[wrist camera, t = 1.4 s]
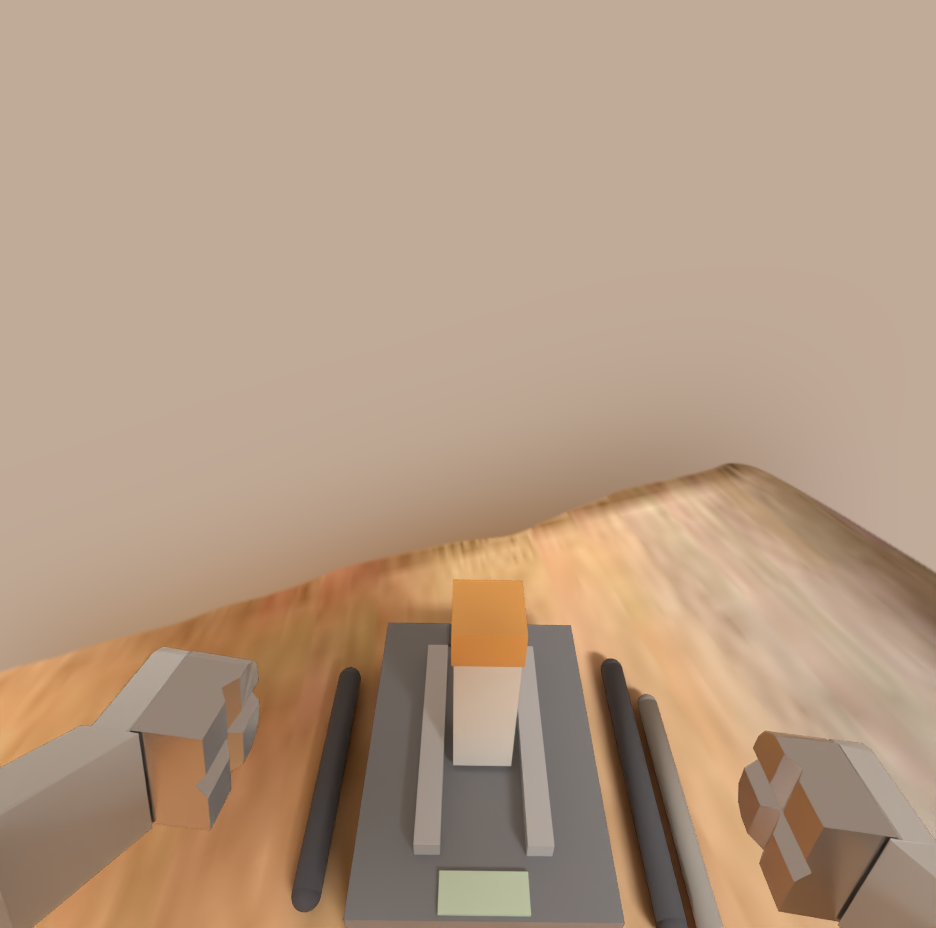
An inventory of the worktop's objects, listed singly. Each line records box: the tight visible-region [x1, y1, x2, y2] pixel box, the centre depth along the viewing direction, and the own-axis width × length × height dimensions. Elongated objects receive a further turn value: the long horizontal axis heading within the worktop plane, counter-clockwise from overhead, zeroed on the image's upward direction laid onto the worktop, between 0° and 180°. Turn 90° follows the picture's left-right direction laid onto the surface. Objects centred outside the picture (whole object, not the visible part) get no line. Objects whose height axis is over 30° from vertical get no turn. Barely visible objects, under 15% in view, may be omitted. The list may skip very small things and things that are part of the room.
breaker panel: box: [344, 623, 625, 928], centre depth 32 cm, size 16×12×5 cm
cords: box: [291, 659, 723, 928], centre depth 33 cm, size 16×21×1 cm
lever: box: [451, 580, 528, 766], centre depth 28 cm, size 3×3×10 cm
